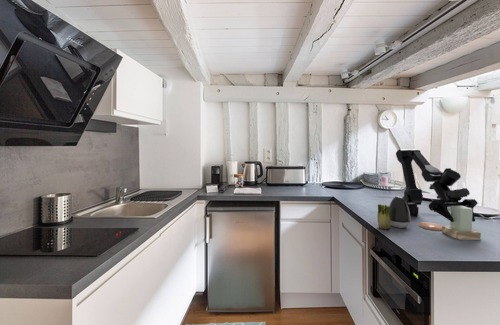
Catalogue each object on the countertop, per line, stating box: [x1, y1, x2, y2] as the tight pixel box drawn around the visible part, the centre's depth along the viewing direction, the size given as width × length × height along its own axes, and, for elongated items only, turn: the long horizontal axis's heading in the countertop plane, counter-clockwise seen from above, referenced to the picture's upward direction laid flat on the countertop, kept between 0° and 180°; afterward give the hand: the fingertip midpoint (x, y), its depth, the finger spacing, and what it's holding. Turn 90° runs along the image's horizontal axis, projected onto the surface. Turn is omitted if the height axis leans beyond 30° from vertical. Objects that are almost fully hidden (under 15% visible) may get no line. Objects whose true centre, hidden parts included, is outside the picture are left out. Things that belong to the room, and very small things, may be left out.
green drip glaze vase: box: [377, 203, 391, 230], centre depth 114 cm, size 6×5×12 cm
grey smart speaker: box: [388, 195, 412, 229], centre depth 117 cm, size 10×10×15 cm
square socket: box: [441, 225, 482, 241], centre depth 104 cm, size 9×9×3 cm
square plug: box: [449, 206, 474, 232], centre depth 103 cm, size 5×5×13 cm
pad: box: [418, 221, 443, 232], centre depth 115 cm, size 10×10×1 cm
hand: (463, 221), depth 102 cm, fingers open, 9 cm apart
